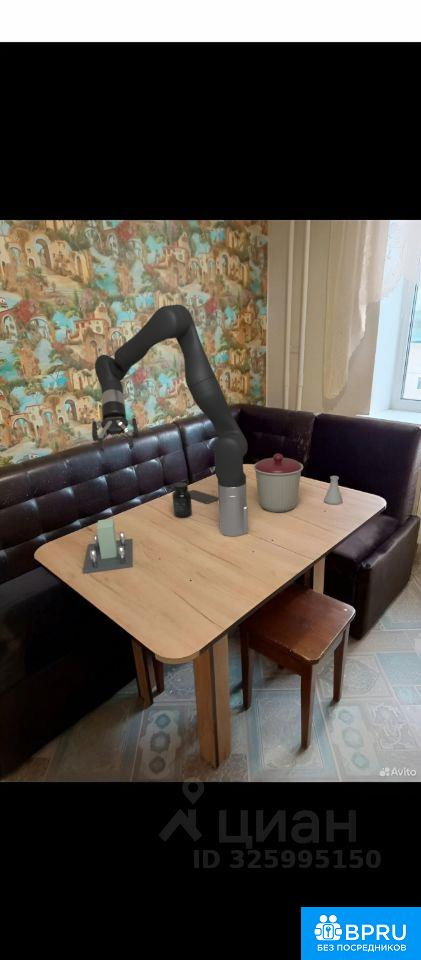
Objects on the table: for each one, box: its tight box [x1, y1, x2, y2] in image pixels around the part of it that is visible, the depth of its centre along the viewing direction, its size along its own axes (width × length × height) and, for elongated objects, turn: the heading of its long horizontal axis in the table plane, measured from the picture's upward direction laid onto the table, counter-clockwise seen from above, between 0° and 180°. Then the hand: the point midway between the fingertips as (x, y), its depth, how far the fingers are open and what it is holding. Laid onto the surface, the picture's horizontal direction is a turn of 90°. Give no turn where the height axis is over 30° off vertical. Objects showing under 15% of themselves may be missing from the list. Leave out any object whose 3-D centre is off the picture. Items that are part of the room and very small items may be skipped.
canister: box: [252, 453, 304, 513], centre depth 151 cm, size 18×18×21 cm
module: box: [96, 518, 117, 559], centre depth 123 cm, size 4×6×10 cm
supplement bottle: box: [172, 482, 193, 519], centre depth 150 cm, size 7×7×12 cm
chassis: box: [82, 531, 134, 575], centre depth 124 cm, size 14×16×5 cm
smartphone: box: [189, 489, 219, 505], centre depth 168 cm, size 7×1×16 cm
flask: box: [323, 475, 343, 505], centre depth 156 cm, size 7×7×10 cm
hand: (116, 449), depth 127 cm, fingers open, 8 cm apart
